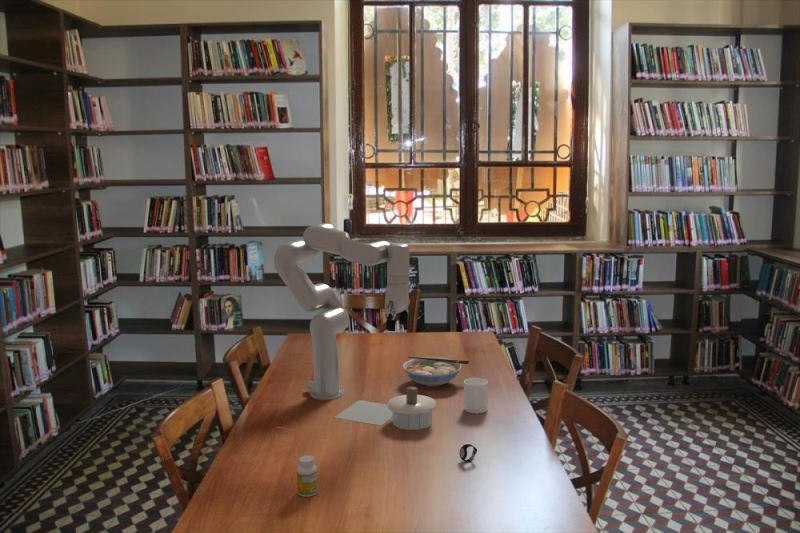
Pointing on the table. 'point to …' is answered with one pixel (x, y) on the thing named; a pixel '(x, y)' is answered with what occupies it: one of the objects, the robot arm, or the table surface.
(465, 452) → the smartwatch
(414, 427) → the bowl
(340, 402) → the table surface
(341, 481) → the table surface
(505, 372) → the table surface
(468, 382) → the mug
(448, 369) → the ramen bowl
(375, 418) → the mat
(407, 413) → the lid
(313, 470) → the supplement bottle
